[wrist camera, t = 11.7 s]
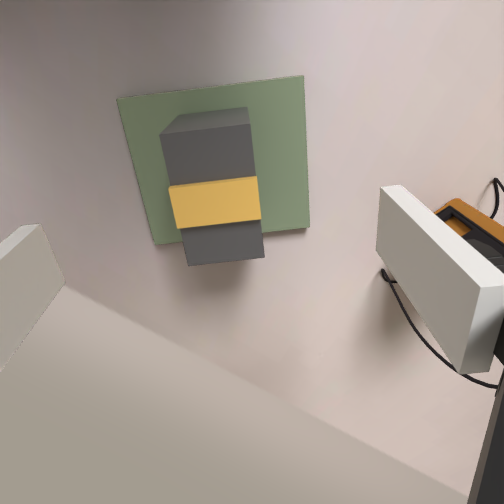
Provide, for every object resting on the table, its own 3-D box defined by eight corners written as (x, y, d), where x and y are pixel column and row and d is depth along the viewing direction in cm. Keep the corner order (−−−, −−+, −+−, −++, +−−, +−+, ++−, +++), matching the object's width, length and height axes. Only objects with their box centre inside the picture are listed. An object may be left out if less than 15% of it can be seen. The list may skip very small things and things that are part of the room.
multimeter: (407, 310, 45) (518, 478, 27) (364, 255, 41) (460, 408, 23) (526, 240, 40) (749, 382, 23) (491, 171, 37) (725, 278, 19)
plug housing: (178, 115, 32) (156, 136, 23) (248, 106, 32) (251, 124, 23) (198, 220, 37) (186, 270, 28) (259, 213, 36) (265, 261, 28)
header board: (120, 97, 32) (102, 104, 28) (301, 75, 32) (311, 78, 28) (157, 239, 39) (147, 262, 35) (308, 222, 39) (316, 242, 34)
